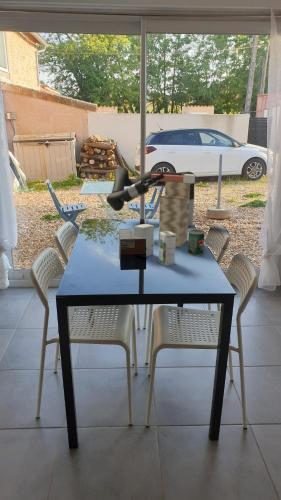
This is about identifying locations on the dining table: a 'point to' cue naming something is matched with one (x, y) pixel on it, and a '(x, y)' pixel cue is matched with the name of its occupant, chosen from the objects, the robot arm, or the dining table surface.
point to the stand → (175, 211)
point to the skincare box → (146, 236)
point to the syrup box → (167, 248)
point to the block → (177, 178)
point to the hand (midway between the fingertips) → (164, 175)
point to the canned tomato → (196, 242)
